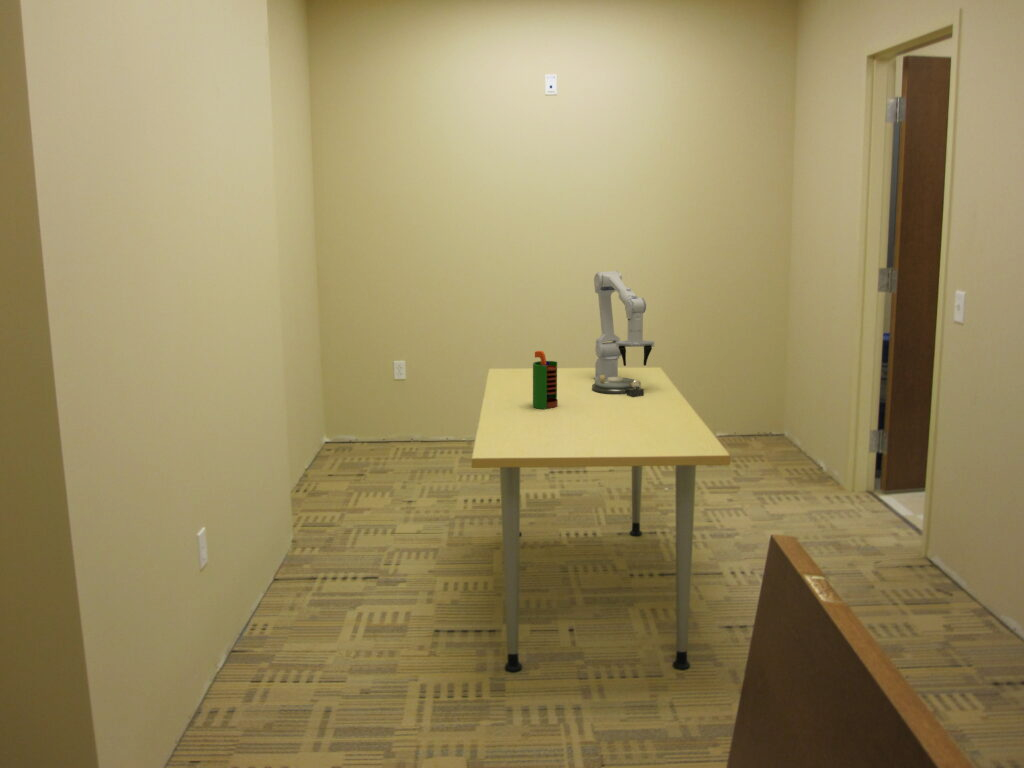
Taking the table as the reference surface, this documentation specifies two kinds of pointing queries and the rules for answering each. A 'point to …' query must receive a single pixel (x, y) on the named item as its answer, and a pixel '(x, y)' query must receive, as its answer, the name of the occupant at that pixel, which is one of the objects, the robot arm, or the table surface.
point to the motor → (544, 382)
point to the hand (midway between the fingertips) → (634, 365)
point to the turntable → (613, 382)
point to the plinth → (608, 390)
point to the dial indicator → (635, 389)
